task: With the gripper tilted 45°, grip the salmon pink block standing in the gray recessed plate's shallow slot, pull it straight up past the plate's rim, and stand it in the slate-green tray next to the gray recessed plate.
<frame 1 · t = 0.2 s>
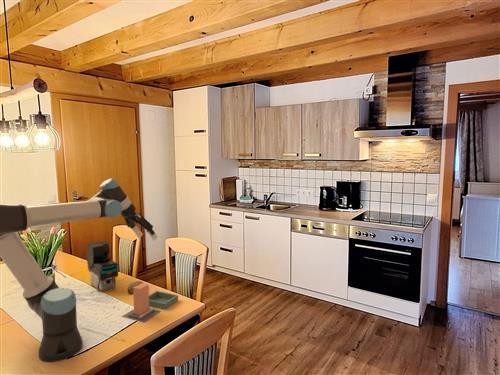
hand: (148, 237, 168), 35 cm above the table, tool tilted 35°, fingers open, 13 cm apart
bill acceptor: (103, 286, 189), on the table
gray recessed plate: (141, 315, 155), on the table
bread roll: (137, 292, 182), on the table
salmon pink block: (141, 313, 155), point 1 cm above the table, touching gray recessed plate
tray: (160, 304, 167), on the table
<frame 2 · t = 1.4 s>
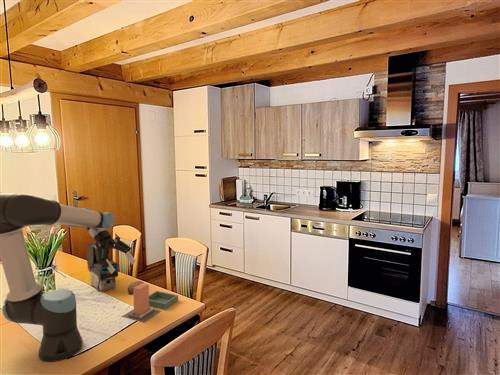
hand: (124, 267, 157), 23 cm above the table, tool tilted 45°, fingers open, 13 cm apart
nothing on the table moved.
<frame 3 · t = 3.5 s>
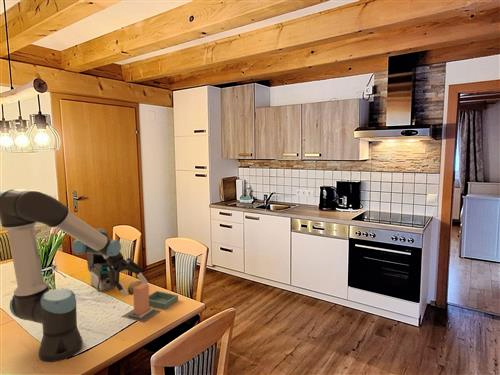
hand: (136, 289, 157), 12 cm above the table, tool tilted 45°, fingers open, 13 cm apart
nothing on the table moved.
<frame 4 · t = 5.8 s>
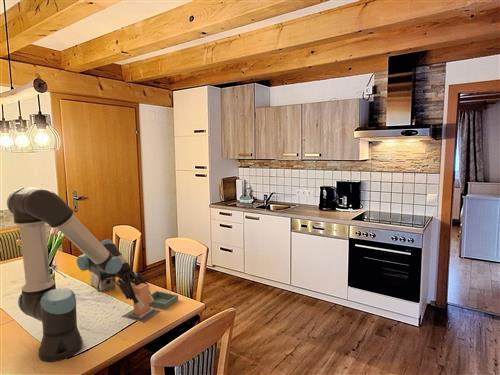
hand: (147, 304, 153), 6 cm above the table, tool tilted 45°, fingers closed on salmon pink block, 6 cm apart
salmon pink block: (141, 313, 155), point 1 cm above the table, touching gray recessed plate, gripper
everything else where it was.
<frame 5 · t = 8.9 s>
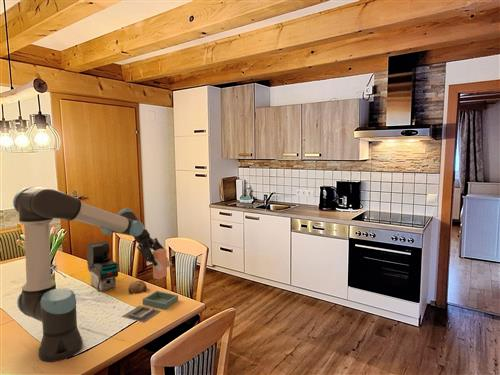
hand: (165, 267, 163), 20 cm above the table, tool tilted 45°, fingers closed on salmon pink block, 6 cm apart
salmon pink block: (160, 276, 165), point 15 cm above the table, touching gripper
everything else where it was.
when the fingers open (8 cm above the table, at t = 11.8 s): salmon pink block drops 1 cm, resting on tray.
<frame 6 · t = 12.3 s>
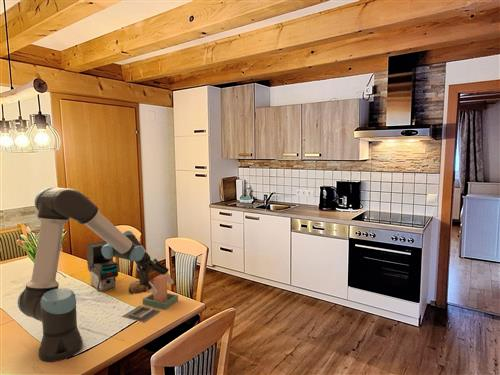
hand: (164, 288, 165), 9 cm above the table, tool tilted 45°, fingers open, 12 cm apart
salmon pink block: (160, 302, 167), point 1 cm above the table, touching tray
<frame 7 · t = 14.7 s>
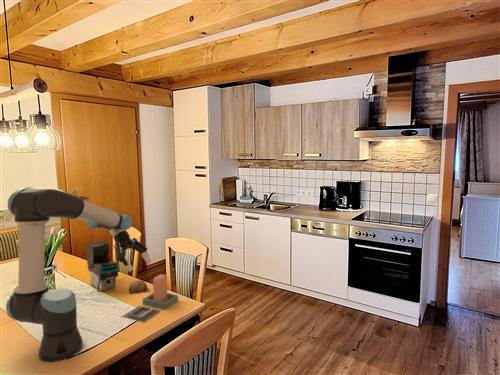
hand: (140, 266, 168), 19 cm above the table, tool tilted 40°, fingers open, 13 cm apart
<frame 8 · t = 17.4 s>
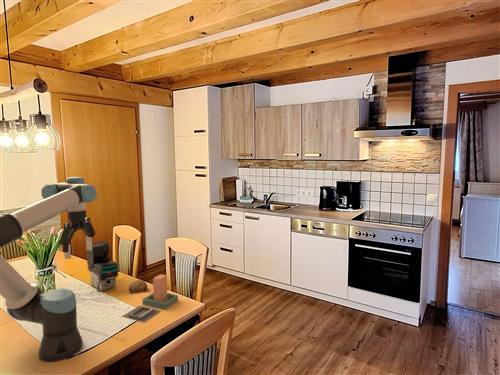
hand: (79, 254, 151), 31 cm above the table, tool pointing down, fingers open, 13 cm apart
at the end: salmon pink block inside the target area on the tray (0.1 cm from its centre), point 1.0 cm above the tray's base; salmon pink block tilted 0°; the gripper is holding nothing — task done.
